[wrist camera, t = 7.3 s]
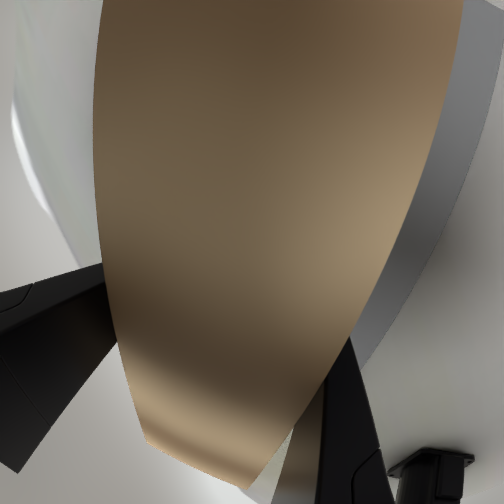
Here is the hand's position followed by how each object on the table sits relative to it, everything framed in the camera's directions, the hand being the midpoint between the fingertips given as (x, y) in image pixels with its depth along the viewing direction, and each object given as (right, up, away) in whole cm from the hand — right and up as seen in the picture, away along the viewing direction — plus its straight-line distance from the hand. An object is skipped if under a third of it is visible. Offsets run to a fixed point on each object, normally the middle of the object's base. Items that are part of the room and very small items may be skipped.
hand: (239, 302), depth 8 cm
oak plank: (0, +1, +1) cm, 1 cm away
